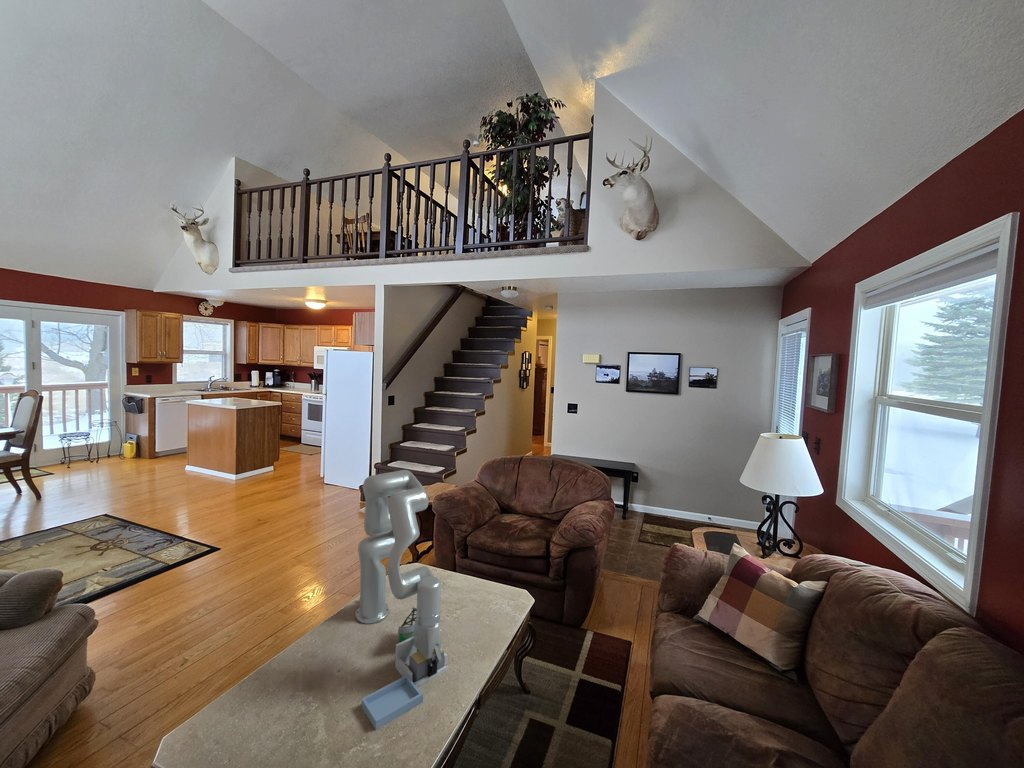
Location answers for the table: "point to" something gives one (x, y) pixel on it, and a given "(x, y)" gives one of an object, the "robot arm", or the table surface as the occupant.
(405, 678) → the tray
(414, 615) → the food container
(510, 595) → the table surface
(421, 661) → the yellow-topped block
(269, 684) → the table surface
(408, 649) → the bay
